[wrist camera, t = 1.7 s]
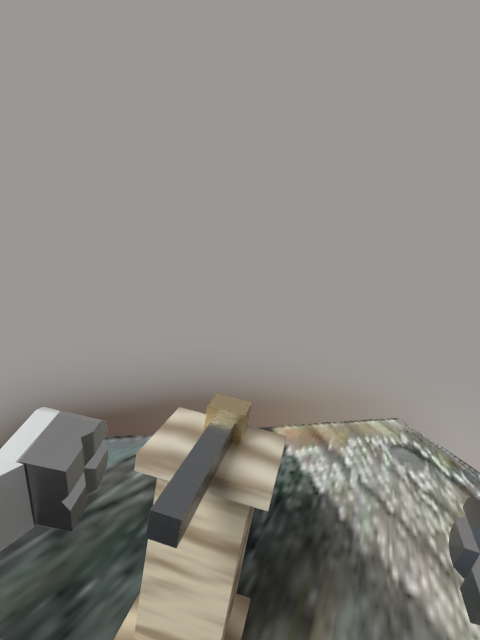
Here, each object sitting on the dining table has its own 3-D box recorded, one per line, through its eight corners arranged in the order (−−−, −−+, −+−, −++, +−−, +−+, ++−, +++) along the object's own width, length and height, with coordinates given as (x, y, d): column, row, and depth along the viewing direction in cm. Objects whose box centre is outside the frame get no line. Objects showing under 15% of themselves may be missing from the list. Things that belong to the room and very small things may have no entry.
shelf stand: (226, 699, 46) (272, 493, 40) (110, 653, 48) (136, 453, 43) (248, 607, 57) (286, 436, 51) (153, 573, 60) (179, 407, 54)
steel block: (188, 552, 31) (195, 511, 30) (134, 534, 32) (139, 493, 31) (248, 425, 52) (253, 399, 52) (214, 416, 53) (219, 390, 52)
